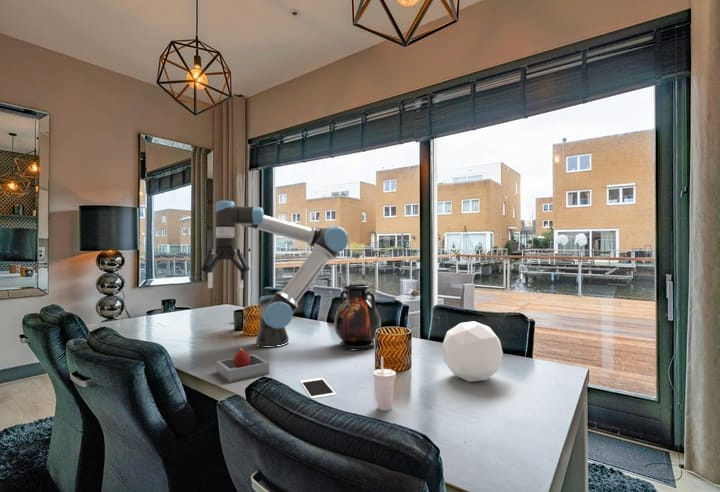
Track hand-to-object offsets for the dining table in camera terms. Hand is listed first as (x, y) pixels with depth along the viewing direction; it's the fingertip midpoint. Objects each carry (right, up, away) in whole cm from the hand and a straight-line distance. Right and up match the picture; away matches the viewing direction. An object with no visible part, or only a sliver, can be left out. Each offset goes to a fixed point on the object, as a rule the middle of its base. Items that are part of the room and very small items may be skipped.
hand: (225, 288), depth 153 cm
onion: (+14, -28, -22) cm, 38 cm away
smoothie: (+64, -27, -53) cm, 87 cm away
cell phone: (+43, -28, -38) cm, 64 cm away
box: (+14, -28, -22) cm, 39 cm away
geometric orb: (+95, -27, -31) cm, 103 cm away
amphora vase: (+56, -29, +13) cm, 64 cm away
